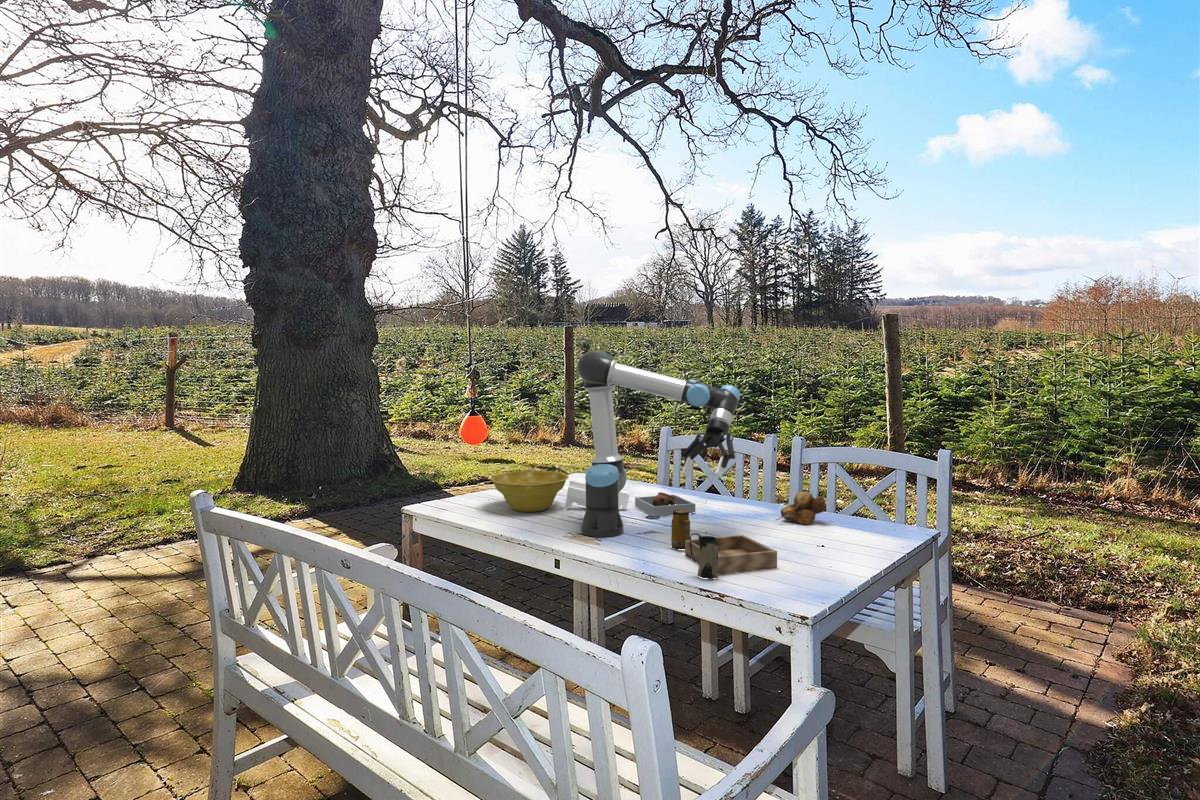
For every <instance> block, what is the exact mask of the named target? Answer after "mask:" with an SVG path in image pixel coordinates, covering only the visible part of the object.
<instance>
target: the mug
mask: <svg viewBox="0 0 1200 800" xmlns="http://www.w3.org/2000/svg"><path fill="white" fill-rule="evenodd" d="M693 535H696V536H698V539H699V564H698V571H697V577H698V576H700V577H702V578H708V579H713V578H716V577H717V578H718V576H719V575H718V545H717V538H715V536H710V535H703V536H702V535H701V534H700V533H697V532H693V533H692V534H690V550H691V555H692V557H693V558H698V557H694V556H693V553H692V541H691V540H692V536H693Z"/></svg>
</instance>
